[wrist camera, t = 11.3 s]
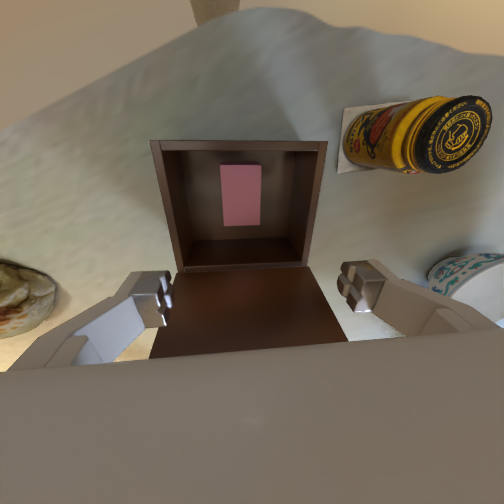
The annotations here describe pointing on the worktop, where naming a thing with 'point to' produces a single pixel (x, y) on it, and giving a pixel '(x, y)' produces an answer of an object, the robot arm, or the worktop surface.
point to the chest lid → (246, 312)
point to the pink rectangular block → (241, 193)
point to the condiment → (414, 135)
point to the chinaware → (472, 282)
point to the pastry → (23, 299)
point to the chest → (211, 208)
